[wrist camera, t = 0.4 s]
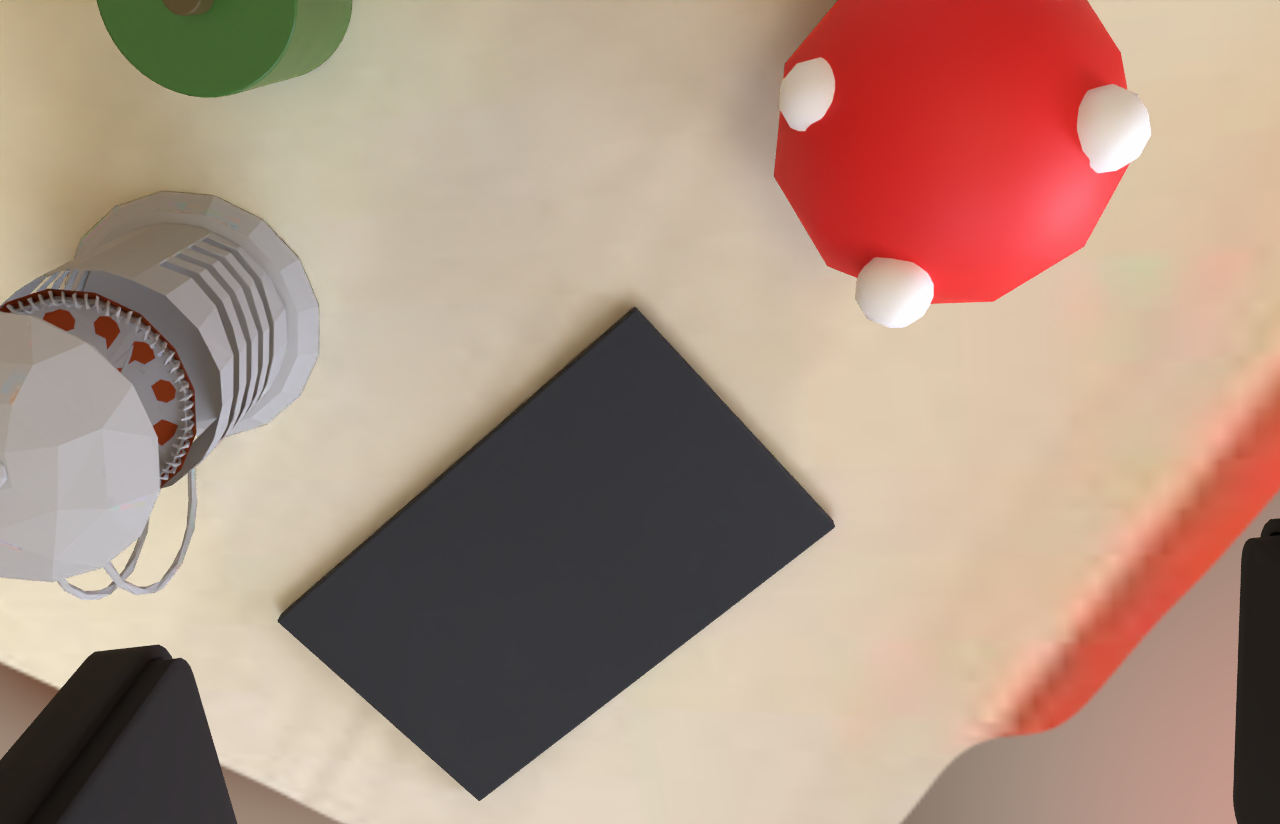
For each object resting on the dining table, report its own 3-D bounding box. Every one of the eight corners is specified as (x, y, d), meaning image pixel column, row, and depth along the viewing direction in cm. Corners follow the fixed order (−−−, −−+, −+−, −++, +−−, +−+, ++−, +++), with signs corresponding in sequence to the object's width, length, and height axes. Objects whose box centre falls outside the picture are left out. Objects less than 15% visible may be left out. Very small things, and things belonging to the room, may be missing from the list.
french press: (292, 176, 44) (-118, 402, 21) (351, 467, 48) (63, 933, 25) (33, 204, 45) (-654, 456, 21) (112, 490, 49) (-394, 969, 25)
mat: (280, 614, 51) (276, 621, 50) (635, 305, 46) (634, 309, 45) (481, 793, 54) (479, 802, 53) (833, 521, 49) (836, 527, 48)
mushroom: (740, 251, 45) (768, 341, 34) (768, -64, 41) (810, -80, 30) (1024, 268, 45) (1147, 366, 34) (1078, -44, 41) (1236, -52, 30)
